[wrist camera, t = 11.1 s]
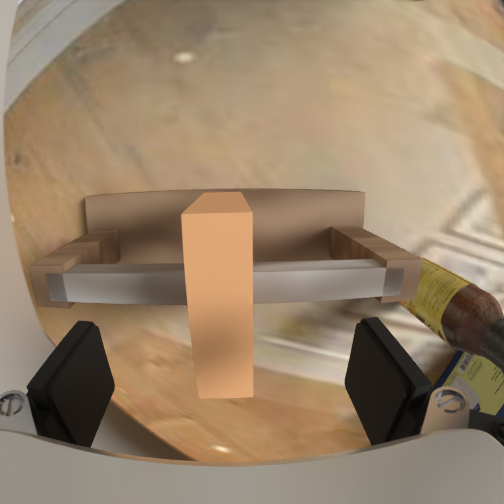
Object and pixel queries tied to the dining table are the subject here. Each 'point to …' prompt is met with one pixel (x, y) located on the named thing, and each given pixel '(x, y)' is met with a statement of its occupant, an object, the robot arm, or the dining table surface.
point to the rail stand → (264, 251)
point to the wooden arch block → (220, 292)
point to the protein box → (476, 382)
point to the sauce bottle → (459, 313)
